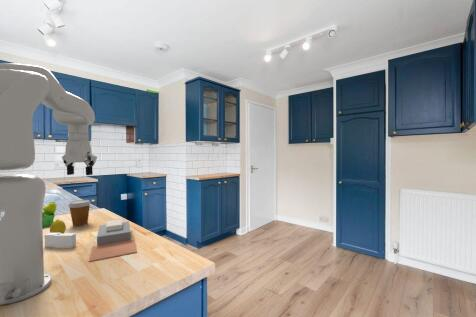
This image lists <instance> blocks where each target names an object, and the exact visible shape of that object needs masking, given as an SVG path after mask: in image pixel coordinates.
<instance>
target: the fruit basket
mask: <svg viewBox="0 0 476 317" xmlns="http://www.w3.org/2000/svg"><path fill="white" fill-rule="evenodd" d="M56 211H57V203H56V202H55V201H50V202H49V203H48V204H46V205H45V206H43V210H42V228H44V227H49V226H51V224H52V223H53V222H54V221H55V220H54V219H55V216H56V214H55V213H56Z"/></svg>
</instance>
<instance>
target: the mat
mask: <svg viewBox="0 0 476 317" xmlns="http://www.w3.org/2000/svg"><path fill="white" fill-rule="evenodd" d="M136 253H137V246H136V241H135V239H131V240H129V241H123V242H118V243H112V244H106V245H100V246H97V245H95V246H92V248H91V253H90V255H89V259H88V262H89V263H91V262H95V261H100V260H105V259H106V260H107V259H112V258H115V257H120V256H121V257H122V256H126V255H132V254H136Z"/></svg>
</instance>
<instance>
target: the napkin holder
mask: <svg viewBox="0 0 476 317" xmlns="http://www.w3.org/2000/svg"><path fill="white" fill-rule="evenodd" d="M43 235H44V236H43V239H44V248H54V249H65V248H66V249H68V248H69V249H72V248H74V247H76V246H77V234H76V232H74V233H64V234H61V233H50V232H48V233H45V234H43Z"/></svg>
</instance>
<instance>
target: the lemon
mask: <svg viewBox="0 0 476 317" xmlns="http://www.w3.org/2000/svg"><path fill="white" fill-rule="evenodd" d="M49 226H50V227H49V233H61V234H65V232H66V230H67V226H66V223H65V222H64V221H63V220H60V219H56V220H53V223H52V224H51V225H49Z"/></svg>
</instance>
